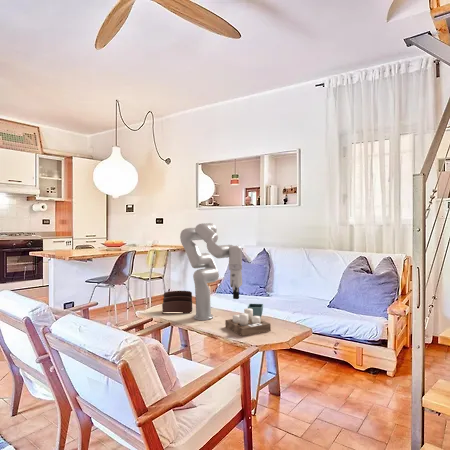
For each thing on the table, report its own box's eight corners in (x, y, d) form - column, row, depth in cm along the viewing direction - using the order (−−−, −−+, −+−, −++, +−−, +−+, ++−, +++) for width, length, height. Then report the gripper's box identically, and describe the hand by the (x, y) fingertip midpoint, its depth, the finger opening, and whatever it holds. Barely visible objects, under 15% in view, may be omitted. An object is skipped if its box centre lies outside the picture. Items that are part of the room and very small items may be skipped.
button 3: (243, 319, 206) (242, 309, 206) (250, 317, 209) (249, 308, 209) (247, 321, 202) (247, 311, 202) (254, 319, 204) (254, 309, 204)
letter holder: (164, 310, 246) (163, 290, 246) (192, 309, 247) (191, 290, 247) (162, 314, 236) (161, 293, 236) (191, 313, 237) (191, 292, 237)
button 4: (250, 327, 199) (249, 316, 199) (257, 325, 202) (257, 315, 202) (254, 329, 195) (254, 318, 195) (262, 327, 197) (262, 317, 197)
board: (225, 326, 204) (225, 320, 204) (251, 322, 212) (251, 315, 212) (242, 336, 186) (242, 329, 186) (270, 330, 194) (270, 323, 194)
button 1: (231, 325, 203) (231, 315, 203) (238, 324, 205) (238, 314, 205) (235, 328, 198) (235, 317, 198) (243, 326, 201) (242, 316, 201)
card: (247, 325, 192) (247, 324, 192) (258, 323, 195) (258, 322, 195) (251, 327, 189) (251, 326, 189) (262, 325, 192) (262, 324, 192)
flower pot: (262, 322, 212) (261, 307, 212) (247, 321, 214) (247, 306, 214) (263, 317, 221) (263, 303, 220) (249, 317, 222) (249, 303, 222)
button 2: (237, 324, 196) (237, 314, 196) (245, 323, 198) (245, 312, 198) (242, 327, 191) (242, 316, 191) (250, 325, 193) (249, 314, 193)
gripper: (238, 269, 193) (239, 302, 193) (244, 265, 207) (245, 296, 208) (225, 268, 195) (226, 301, 196) (232, 265, 210) (233, 295, 210)
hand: (236, 298), depth 202 cm, fingers closed
